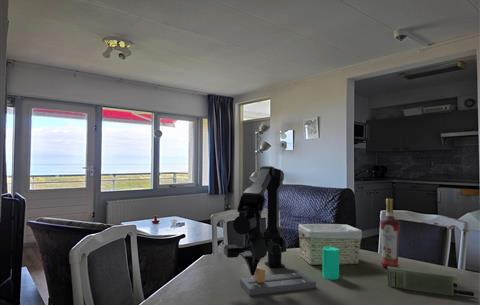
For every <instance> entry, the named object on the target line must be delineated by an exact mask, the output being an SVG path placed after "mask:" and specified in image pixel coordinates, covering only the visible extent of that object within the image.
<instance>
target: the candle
mask: <svg viewBox="0 0 480 305" xmlns="http://www.w3.org/2000/svg"><path fill="white" fill-rule="evenodd" d="M321 266H322V277H323V278H324V279H327V280H338V279H339V278H340V265H339V249H337V248H335V247H323V248H322V265H321Z"/></svg>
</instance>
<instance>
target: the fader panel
mask: <svg viewBox="0 0 480 305" xmlns="http://www.w3.org/2000/svg"><path fill="white" fill-rule="evenodd" d="M239 285H240V287H242V289H243V290H244V291H245V292H246V293H247V295H248V296H257V295H265V294H275V293H280V292H281V293H282V292H283V293H284V292H293V291H299V290H308V289H316V288H317V282H316V281H315V280H314V279H313V278H311V277H310V276H308V275H307V274H305V273H304V272H299V271H298V272H289V273H280V274H270V275H265V282H262V283H258V282H257V281H256V280H255V279H254V276H251V277H242V278H241V277H240V278H239Z"/></svg>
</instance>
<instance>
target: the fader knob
mask: <svg viewBox="0 0 480 305" xmlns="http://www.w3.org/2000/svg"><path fill="white" fill-rule="evenodd" d="M265 276H266V269H265V268H263V267H262V266H261V265H257V268H256V271H255V273H254V276H253V277H254V279H255V280H256V281H257V282H258V283H262V282H265Z"/></svg>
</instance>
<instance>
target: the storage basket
mask: <svg viewBox="0 0 480 305" xmlns="http://www.w3.org/2000/svg"><path fill="white" fill-rule="evenodd" d="M297 229H298V237H299V238H298V239H299V256H300V257H302V259H303V260H304V261H305V262H306V263H308V264H309V265H312V266H314V265H316V266H317V265H321V266H322V248H323V247H335V248H337V249H339V266H340V265H356V264H359V258H360V250H361V241H362V239H363V238H362V237H363V236H362V235H363V231H362V230H361V229H359V228H356V227H354V226H351V225H349V224H341V223H339V224H338V223H304V224H303V223H301V224H300V223H299V224H298V228H297Z"/></svg>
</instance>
